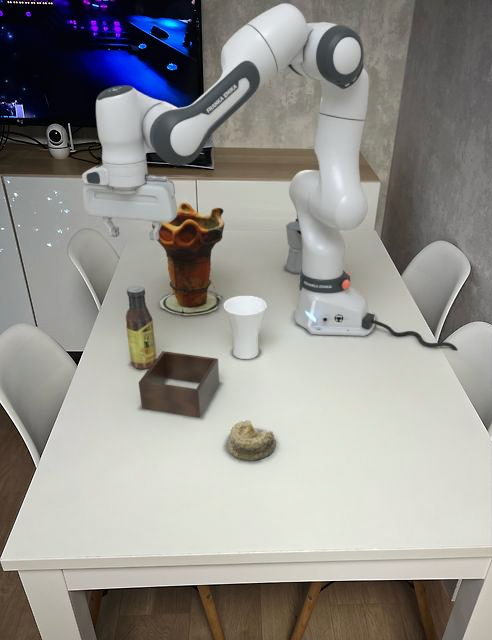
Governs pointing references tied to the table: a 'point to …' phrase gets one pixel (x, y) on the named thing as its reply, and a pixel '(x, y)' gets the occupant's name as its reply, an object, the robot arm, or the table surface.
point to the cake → (250, 442)
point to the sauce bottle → (140, 329)
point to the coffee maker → (294, 247)
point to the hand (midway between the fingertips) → (134, 237)
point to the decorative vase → (190, 259)
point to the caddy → (175, 396)
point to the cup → (245, 324)
